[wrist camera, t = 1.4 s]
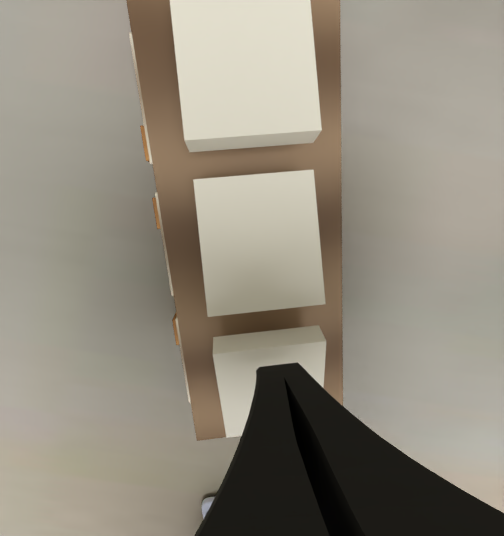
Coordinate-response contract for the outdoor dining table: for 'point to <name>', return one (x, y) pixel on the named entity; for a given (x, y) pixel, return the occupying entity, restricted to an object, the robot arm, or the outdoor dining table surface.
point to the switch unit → (224, 165)
